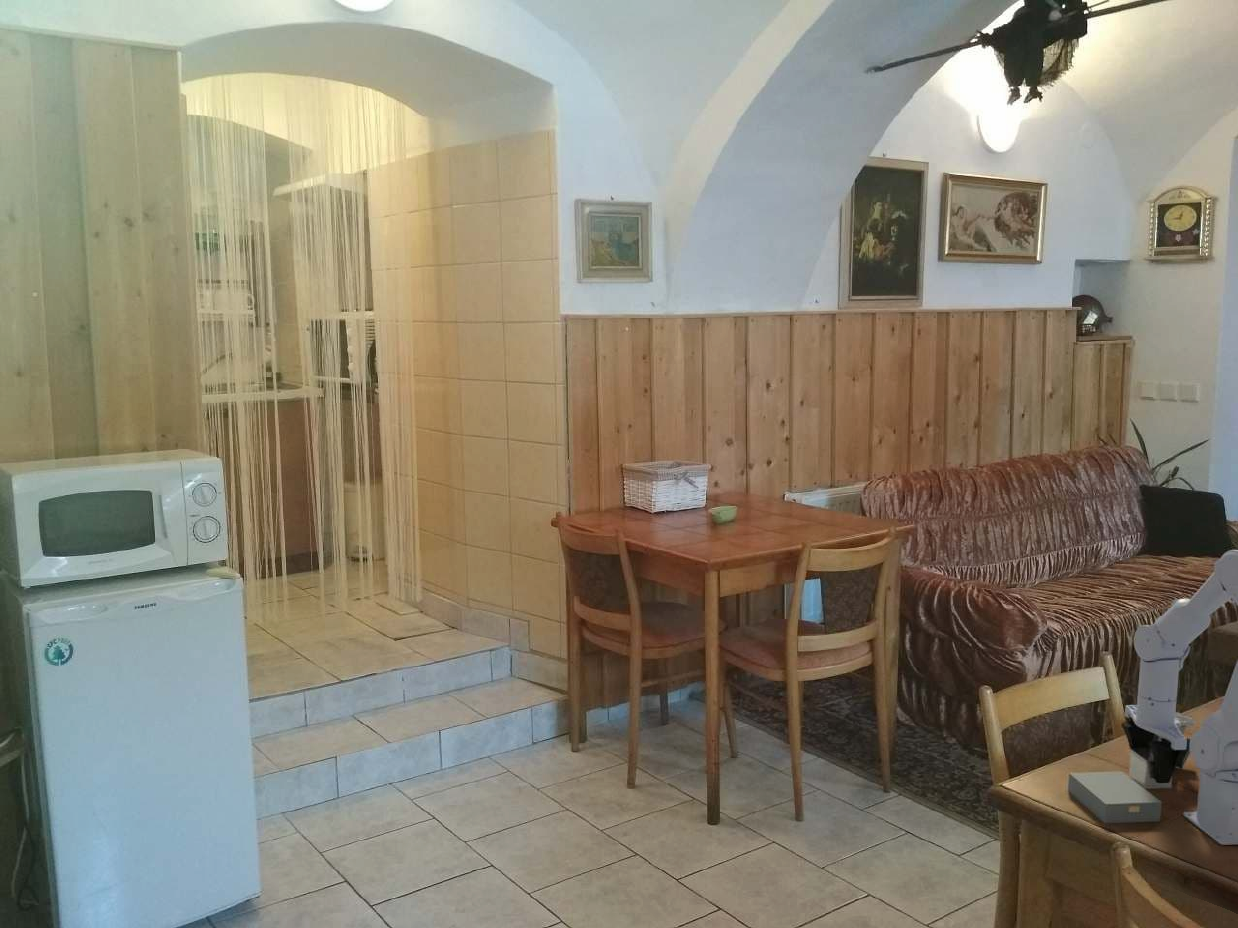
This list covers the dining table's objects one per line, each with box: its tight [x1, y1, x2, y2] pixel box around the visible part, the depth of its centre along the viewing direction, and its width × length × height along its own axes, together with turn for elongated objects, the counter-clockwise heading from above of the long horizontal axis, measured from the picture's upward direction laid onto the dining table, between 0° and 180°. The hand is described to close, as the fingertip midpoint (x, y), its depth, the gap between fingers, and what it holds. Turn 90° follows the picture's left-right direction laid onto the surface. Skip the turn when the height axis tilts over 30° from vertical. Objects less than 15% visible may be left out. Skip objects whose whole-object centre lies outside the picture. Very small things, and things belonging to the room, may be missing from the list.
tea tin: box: [1128, 748, 1173, 790], centre depth 173 cm, size 5×5×5 cm
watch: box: [1153, 711, 1196, 770], centre depth 178 cm, size 6×8×11 cm
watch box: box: [1067, 770, 1163, 824], centre depth 165 cm, size 11×9×4 cm
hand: (1150, 773), depth 174 cm, fingers open, 6 cm apart
